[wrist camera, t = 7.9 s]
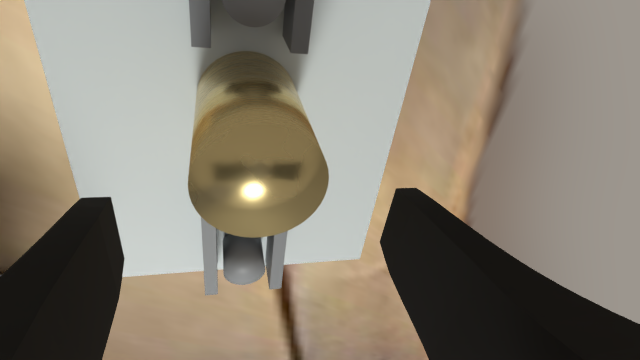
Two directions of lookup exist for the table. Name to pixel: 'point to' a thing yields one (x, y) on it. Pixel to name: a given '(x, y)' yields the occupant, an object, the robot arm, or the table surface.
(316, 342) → the table surface
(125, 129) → the chain base
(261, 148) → the pin
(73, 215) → the robot arm
